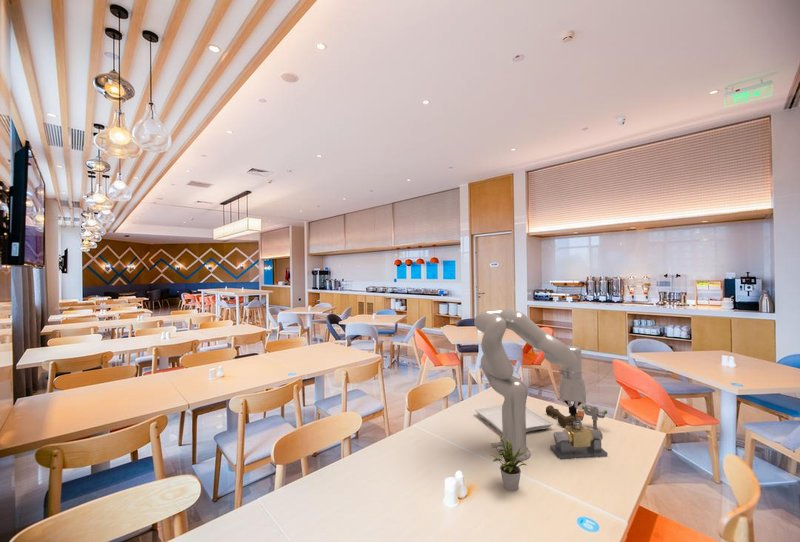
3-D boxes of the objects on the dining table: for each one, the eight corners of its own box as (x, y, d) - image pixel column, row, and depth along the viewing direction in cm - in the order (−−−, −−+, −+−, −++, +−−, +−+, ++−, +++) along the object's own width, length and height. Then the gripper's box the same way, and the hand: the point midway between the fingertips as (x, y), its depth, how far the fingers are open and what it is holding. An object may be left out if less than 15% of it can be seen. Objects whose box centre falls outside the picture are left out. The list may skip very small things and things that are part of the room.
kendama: (556, 413, 180) (587, 429, 161) (541, 417, 178) (571, 433, 158) (556, 402, 180) (586, 416, 161) (541, 405, 178) (570, 420, 159)
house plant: (479, 477, 126) (478, 434, 126) (509, 469, 131) (508, 427, 131) (503, 502, 113) (502, 453, 113) (536, 491, 118) (535, 444, 118)
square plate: (474, 416, 179) (474, 409, 179) (518, 408, 187) (518, 401, 187) (504, 440, 153) (504, 432, 153) (554, 430, 162) (554, 422, 162)
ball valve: (560, 459, 137) (559, 431, 137) (550, 449, 145) (549, 422, 145) (607, 456, 138) (606, 429, 138) (594, 446, 146) (594, 420, 146)
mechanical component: (607, 432, 158) (606, 411, 157) (582, 426, 164) (581, 406, 164) (607, 430, 160) (607, 409, 160) (583, 424, 166) (582, 404, 166)
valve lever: (581, 428, 139) (581, 423, 139) (572, 426, 141) (572, 421, 141) (585, 415, 151) (585, 410, 151) (577, 414, 153) (577, 409, 153)
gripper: (554, 375, 150) (555, 416, 150) (592, 378, 145) (593, 421, 145) (553, 370, 157) (553, 409, 157) (589, 373, 152) (590, 414, 152)
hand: (572, 415), depth 151 cm, fingers closed
